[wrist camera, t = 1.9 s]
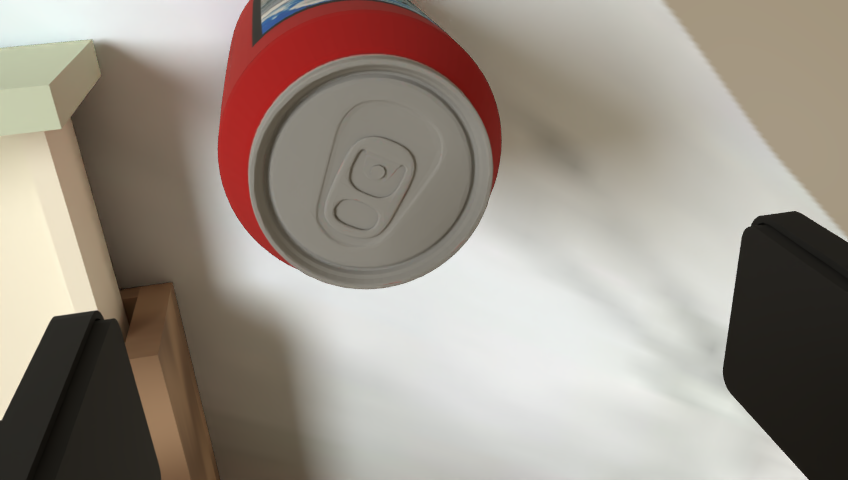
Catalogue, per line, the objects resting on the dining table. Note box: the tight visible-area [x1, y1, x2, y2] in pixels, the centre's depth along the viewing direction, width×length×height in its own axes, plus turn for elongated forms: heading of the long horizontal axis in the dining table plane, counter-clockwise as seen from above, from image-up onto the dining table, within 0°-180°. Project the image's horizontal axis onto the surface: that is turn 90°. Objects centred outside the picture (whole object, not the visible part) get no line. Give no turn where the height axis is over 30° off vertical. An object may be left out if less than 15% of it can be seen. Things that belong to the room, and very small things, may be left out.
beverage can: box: [218, 0, 502, 289], centre depth 21 cm, size 7×7×12 cm
